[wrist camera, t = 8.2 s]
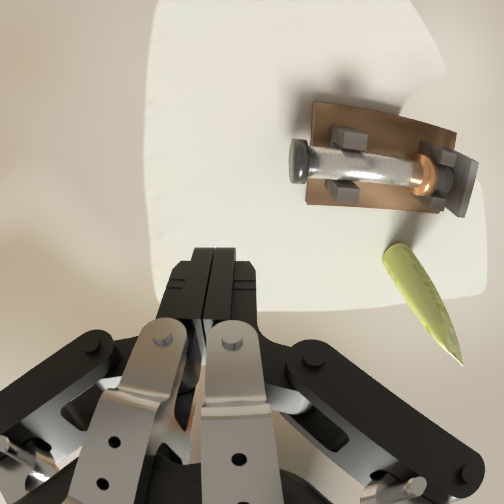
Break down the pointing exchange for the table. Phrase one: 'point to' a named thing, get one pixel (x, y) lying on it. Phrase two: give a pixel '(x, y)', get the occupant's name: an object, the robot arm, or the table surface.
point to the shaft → (368, 168)
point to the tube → (421, 296)
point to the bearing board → (389, 143)
